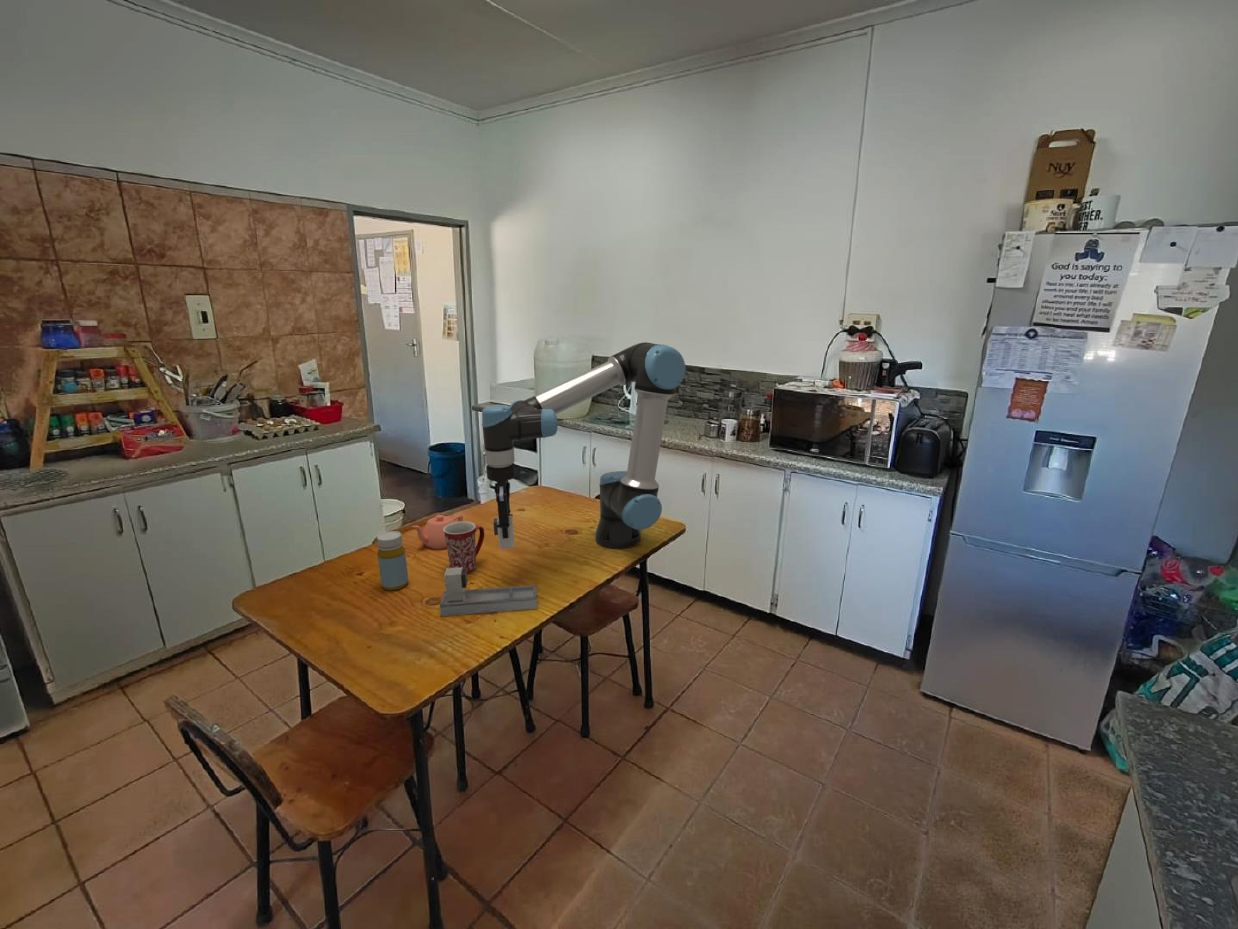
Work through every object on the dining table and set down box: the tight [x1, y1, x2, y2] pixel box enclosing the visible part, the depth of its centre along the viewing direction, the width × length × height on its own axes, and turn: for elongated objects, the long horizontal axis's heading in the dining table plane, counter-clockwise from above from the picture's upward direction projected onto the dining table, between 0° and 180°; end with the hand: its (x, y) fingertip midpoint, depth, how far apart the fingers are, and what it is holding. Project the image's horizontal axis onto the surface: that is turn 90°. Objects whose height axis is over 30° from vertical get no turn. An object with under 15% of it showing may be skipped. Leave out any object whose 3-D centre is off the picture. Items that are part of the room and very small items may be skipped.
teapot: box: [411, 514, 464, 550], centre depth 181 cm, size 12×18×10 cm
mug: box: [443, 521, 485, 575], centre depth 164 cm, size 13×9×14 cm
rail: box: [439, 567, 538, 617], centre depth 143 cm, size 24×7×10 cm, turn 99°
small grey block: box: [493, 515, 515, 550], centre depth 154 cm, size 5×4×8 cm
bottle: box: [376, 530, 409, 592], centre depth 153 cm, size 7×7×15 cm
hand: (507, 544), depth 155 cm, fingers closed on small grey block, 4 cm apart
